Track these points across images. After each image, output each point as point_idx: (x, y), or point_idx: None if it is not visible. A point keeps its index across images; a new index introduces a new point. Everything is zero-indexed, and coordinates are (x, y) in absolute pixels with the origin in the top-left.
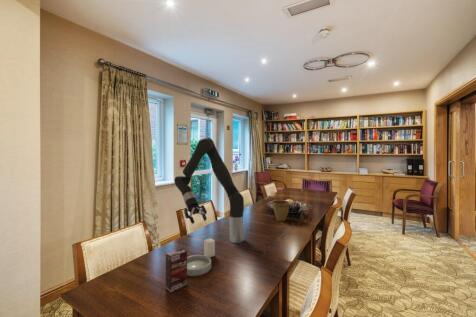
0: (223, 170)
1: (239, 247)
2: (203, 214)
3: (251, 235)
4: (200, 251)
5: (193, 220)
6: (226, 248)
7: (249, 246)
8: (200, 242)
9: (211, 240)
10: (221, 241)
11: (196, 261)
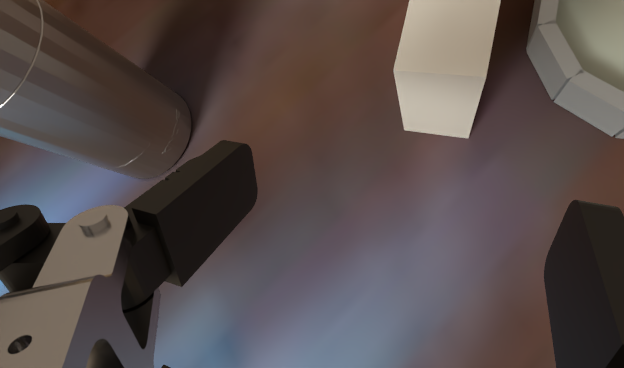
0: None
1: (226, 49)
2: (156, 211)
3: None
4: (438, 210)
5: (604, 230)
6: (281, 97)
7: (187, 19)
8: (306, 346)
9: (431, 14)
10: None
11: (621, 68)
